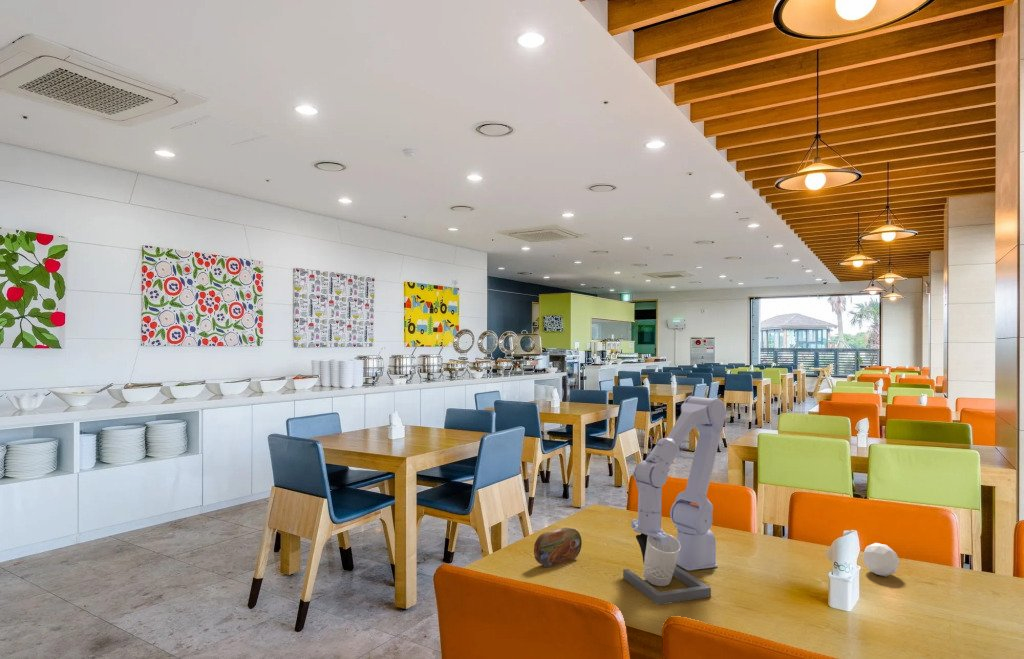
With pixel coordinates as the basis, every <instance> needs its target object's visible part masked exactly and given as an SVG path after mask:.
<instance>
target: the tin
mask: <svg viewBox="0 0 1024 659" xmlns="http://www.w3.org/2000/svg"><path fill="white" fill-rule="evenodd" d="M582 545H583V542H582V536H581V534H580V532H579V531H578V530H577V529H576V528H570V527H562V528H557V529H555V530H551V531H547V532H543V533H542V534H540V535H539V536H538V537H537V538H536V540H535V542H534V546H533V554H534V559H535V561H537V563H538V564H540V565H542V566H544V567H546V568H553V567H556V566H560V565H562V564H565V563H568V562H571V561H574V560H575V559H577V557H578V556H579V555H580V553H581V551H582Z"/></svg>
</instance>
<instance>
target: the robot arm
mask: <svg viewBox="0 0 1024 659" xmlns="http://www.w3.org/2000/svg"><path fill="white" fill-rule="evenodd" d="M727 412H728V411H727V408H726V406H725V404H724V401H722V399H720V398H717V397H716V398H711V397H699V396H694V395H688V396H687V397H686V398H685V399H684V401H683V403H682V404H681V406H680V415H679V416H678V419H677V420H676V422H675V424H674V425H673V426H672V428H671V430H670V432H669V434H668V436H667V437H663V438H660V439H658V440H657V442H656V445H655V446H654V447H653V448H652V450H651V452H649V454H648V456H647V457H646V458H645V460H641V461H639V462H637V464H636V466H635V468H634V471H633V472H632V474H633V478H634V480H635V482H636V489H637V491H638V493H637V495H638V496H637V497H638V498H637V499H638V500H637V519H636V518H635V519H631V521H630V523H631V526H630V527H631V528H632V529H633V531H634V532H635V533H638V534H637V535H635V539H636V540H637V542H638V545H639V548H640V551H641V555H642V563H643V564H644V559H645V551H646V544H647V537H648V535H649V536H651V537H653V539H655V540H656V541H658V542H659V543H660V545H662V546H663V545H669V537H668V536H667V535H666V534H667V533H666V532H665V531H664V530H663V528H662V502H663V501H662V497H663V496H662V494H663V492H662V490H663V489H662V488H663V486H664V485H665V484H666V482H667V480H668V477H669V476H668V475H669V472H670V467H671V466H672V464H673V463H674V461H675V460H676V458H677V457H678V455H679V454H680V447H679V446H680V444H681V443H682V442H683V441H684V440H685V438H686V437H687V436H688V435H689V434H690V432H691V431H692V430H693V429H696V430H697V432H698V438H697V442H696V447H695V451H694V453H693V454H694V455H693V458H692V463H691V467H690V471H689V475H688V478H687V482H686V487H685V490H683V491H681V492H679V493H678V494H677V495H676V497H675V500H674V502H673V503H672V505H671V507H670V511H669V515H670V520H671V522H672V523H673V524H674V528H676V539H677V540H678V541H679V543H680V545H681V549H680V552H679V556H678V560H677V563H676V566H678V567H679V568H681V569H683V570H684V571H685V570H686V572H687V571H688V572H690V571H697V570H703V569H710V568H718V566H719V564H717V557H716V556H717V554H716V552H717V545H716V544H717V542H716V537H715V535H714V533H713V531H712V530H711V528H712V525H713V522H714V520H713V510H714V505H713V503H711V501H710V500H709V497H707V493H708V491H709V490H708V489H709V486H710V481H711V478H712V473H713V469H714V466H715V461H716V456H717V453H718V448H719V444H720V439H721V435H722V432H723V429H724V425H725V424H724V423H725V420H726V417H727ZM660 532H662V533H660ZM639 533H640V534H639ZM665 533H666V534H665Z"/></svg>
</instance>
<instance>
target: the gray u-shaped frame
mask: <svg viewBox="0 0 1024 659" xmlns="http://www.w3.org/2000/svg"><path fill="white" fill-rule="evenodd" d="M622 571H623V572H622V573H623V574H622V578H623V579H625V580H626V581H627V582H628V583H629V584H630V585H632V586H633V587H634V588H635V589H637V590H638V591H639V592H641V593H642V594H643V595H644V596H646V597H647V598H649V600H651V601H652V602H653V603H655V604H656V605H657V606H659V605H666V604H665V603H667V604H671V603H670V602H673V603H679V602H678V601H680V602H685V601H691V600H698V599H704V598H711V597H712V588H711V587H710V586H709V585H707V584H705V582H702V581H701V580H699V579H698V578H696V577H695V576H693V575H691V574H690V573H689V572H687V571H685V569H683V568H681V567H680V566H678V565H676V567H675V570H674V573H673V576H672V577H674V578H676V579H677V580H678V581H680V582H681V583H683V584H684V585H686V586H687V587H685V588H679V589H671V590H666V591H659V590H658V589H656V588H655V587H654V586H652V584H651V583H649V582H648V581H647V580H644V579H643V578H642V577H640V576H639V575H637V574H636V573H635V572H634V571H632V570H631V569H629V568H627V569H626V568H625V569H623V570H622Z"/></svg>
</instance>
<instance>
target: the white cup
mask: <svg viewBox="0 0 1024 659" xmlns="http://www.w3.org/2000/svg"><path fill="white" fill-rule="evenodd" d="M660 533H662V532H660ZM664 533H665V534H666V535H667V536H668V537H669V545H663V546H662V545H660V543H659V542H658V541H656V540H655V539H653V537H651V536H649V535H648V537H647V544H646V551H645V559H644V563H643V569H642V570H643V571H642V574H643V575H642V576H643V577H644V579H645V581H646V582H647V583H649V584H650V585H653V586H657V587H667V586H669V585H670V583H671V582H672V579H673V577H674V576H673V573H674V570H675V567H676V566H677V564H676V563H677V560H678V556H679V552H680V549H681V545H680V543H679V541H678V540H677V537H676V538H675V536H673V535H671V534H669V533H667V532H664Z"/></svg>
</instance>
